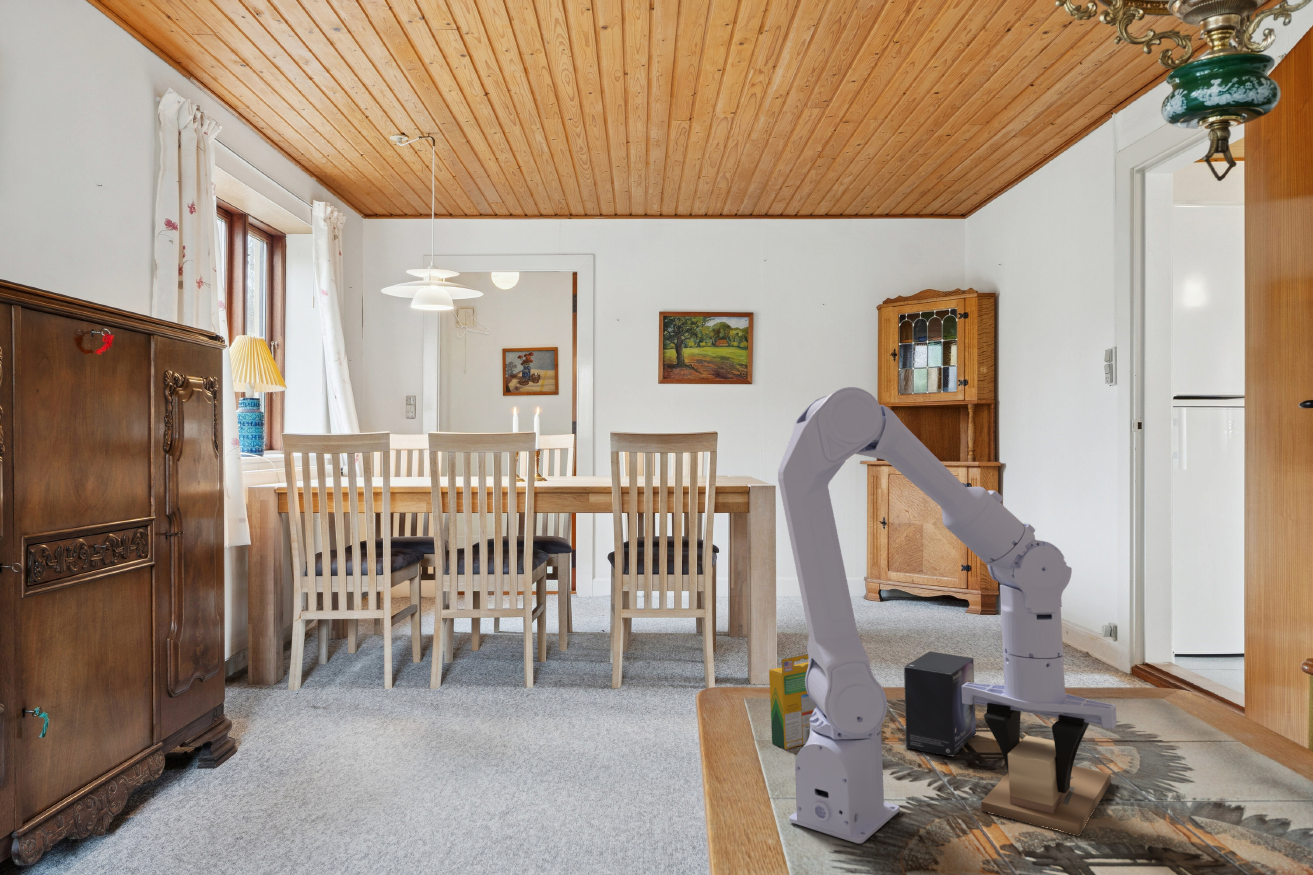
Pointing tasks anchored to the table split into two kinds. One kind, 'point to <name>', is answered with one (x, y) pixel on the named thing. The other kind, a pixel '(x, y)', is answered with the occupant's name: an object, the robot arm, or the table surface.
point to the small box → (938, 703)
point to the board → (1069, 813)
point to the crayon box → (790, 703)
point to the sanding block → (1034, 775)
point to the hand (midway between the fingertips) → (1039, 783)
